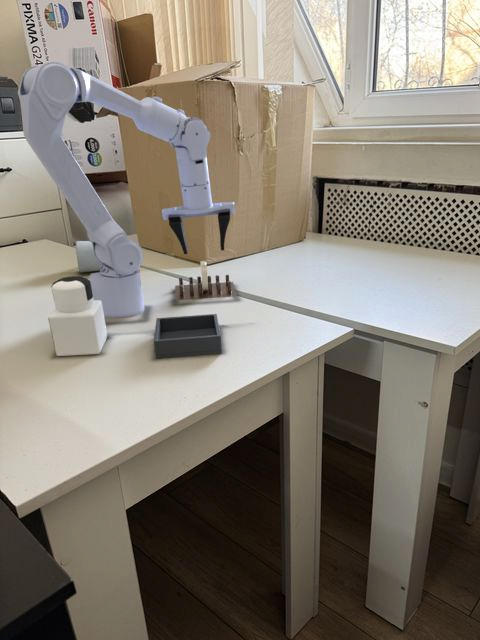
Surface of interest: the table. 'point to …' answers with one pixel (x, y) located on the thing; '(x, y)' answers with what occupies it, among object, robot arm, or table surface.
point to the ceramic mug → (86, 257)
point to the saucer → (204, 275)
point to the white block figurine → (76, 318)
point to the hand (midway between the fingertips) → (204, 251)
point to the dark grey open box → (187, 336)
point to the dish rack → (197, 293)
